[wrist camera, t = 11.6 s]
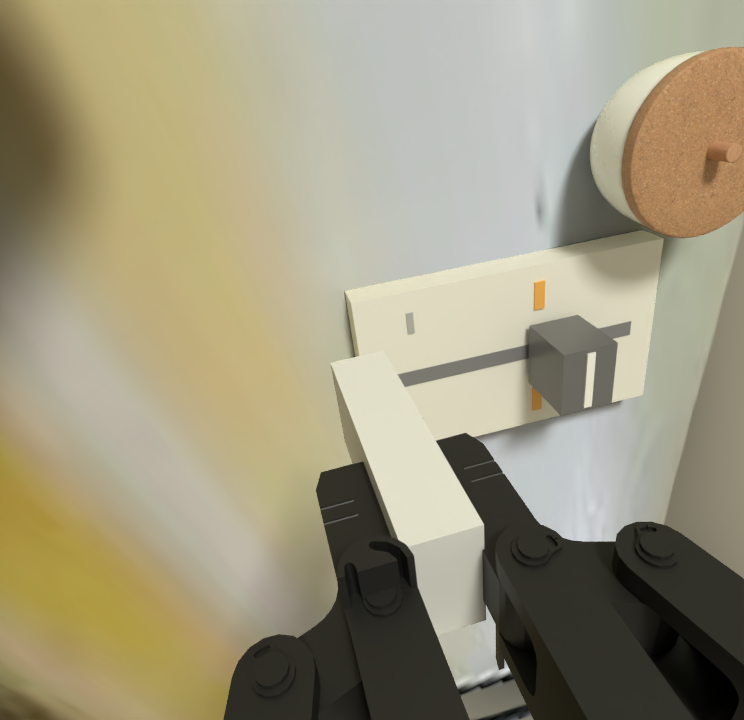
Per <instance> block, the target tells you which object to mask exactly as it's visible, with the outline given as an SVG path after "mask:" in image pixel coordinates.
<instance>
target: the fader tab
mask: <svg viewBox="0 0 744 720" xmlns="http://www.w3.org/2000/svg"><path fill="white" fill-rule="evenodd" d="M617 347H618V342H616V341H615V340H613V339H612V338H610V337H609V336H608V335H606V334H605V333H603V332H602V331H601V330H599V329H598V328H596V327H595V326H593V325H592V324H591V323H589V322H588V321H586V320H585V319H583V318H582V317H581V316H579V315H575V316H570V317H566V318H561V319H557V320H552V321H548V322H543V323H539V324H534V325H530V326H529V375H528V382H529V383H530V384H531V385H532V386H533V387H534V388H535V389H536V390H537V391H538V393H539V394H540V395H541V396H542V397H543V398H544V399H545V400H546V401H547V402H548V403H549V404H550V405H551V406H552V407H553V408H554V409H555V410H556V411H557V412H558V413H559V414H560V415H561V416H563V415H567V414H571V413H575V412H579V411H583V410H587V409H591V408H595V407H599V406H603V405H607V404H611V403H612V395H613V385H614V376H615V366H616V356H617Z"/></svg>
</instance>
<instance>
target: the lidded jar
mask: <svg viewBox="0 0 744 720" xmlns="http://www.w3.org/2000/svg"><path fill="white" fill-rule="evenodd" d="M590 163H591V171H592V174H593V178H594V181H595V183H596V185H597V187H598V189H599V190H600V192H601V194H602V195H603V196H604V198H605V199H606V200H607V201H608V202H609V203H610V204H611V205H612V206H613V207H614V208H615V209H617V210H618V211H619V212H620V213H622V214H623V215H625V216H626V217H628V218H630V219H632V220H633V221H635V222H638V223H640V224H642V225H644V226H646V227H648V228H650V229H652V230H653V231H655V232H658V233H660V234H663V235H667V236H670V237H677V238H689V237H696V236H700V235H704V234H707V233H709V232H711V231H714V230H716V229H718V228H720V227H722V226H723V225H725V224H727V223H729V222H730V221H731V220H733V219H734V218H736V217H737V216H738V215H740V214H741V213H742V212H743V211H744V47H727V48H718V49H713V50H709V51H700V52H692V53H687V54H682V55H678V56H674V57H670V58H667V59H665V60H662V61H660V62H657V63H655V64H652V65H650V66H648V67H646V68H645V69H643V70H641V71H640V72H638V73H637V74H635V75H634V76H632V77H631V78H630V79H629V80H627V81H626V82H625V83H624V84H622V86H621V87H620V88H619V89H618V90H617V91H616V92H615V93H614V94H613V96H612V97H611V98H610V100H609V101H608V102H607V104H606V105H605V106H604V108H603V110H602V112H601V113H600V115H599V117H598V120H597V122H596V125H595V127H594V131H593V134H592V138H591V145H590Z"/></svg>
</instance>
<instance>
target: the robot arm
mask: <svg viewBox="0 0 744 720" xmlns="http://www.w3.org/2000/svg"><path fill="white" fill-rule="evenodd" d="M331 369H332V374H333V379H334V385H335V390H336V395H337V401H338V406H339V412H340V417H341V422H342V428H343V433H344V439H345V443H346V445H347V448H348V451H349V454H350V457H351V460H352V463H353V464H351V465H347V466H344V467H340V468H336V469H332V470H329V471H325V472H321V475H320V478H319V482H318V485H317V488H316V493H317V497H318V501H319V505H320V510H321V514H322V518H323V522H324V527H325V531H326V535H327V539H328V544H329V548H330V552H331V556H332V560H333V564H334V569H335V573H336V577H337V581H338V593H337V598H336V601H335V603H334V605H333V607H332V609H331V611H330V612H329V613H328V615H327V616H326V617H325V618H324V619H323V620H322V621H321V622H320V623H319V624H317V625H316V626H315V627H313V628H312V629H311V630H309V631H308V632H306V633H305V634H303V635H302V636H300V637H299V638H296V637H294V636H289V635H280V634H278V635H275V636H271V637H267V638H264V639H262V640H261V641H259V642H258V643H256V644H254V645H253V646H251V647H250V648H249V649H248V650H247V651H246V653H245V654H244V655H243V656H242V658H241V659H240V660H239V661H238V664H237V666H236V669H235V671H234V674H233V676H232V680H231V685H230V690H229V695H228V700H227V705H226V710H225V715H224V720H470V719H469V717H468V714H467V712H466V709H465V707H464V704H463V702H462V699H461V696H460V694H459V691H458V689H457V686H456V684H455V681H454V678H453V676H452V673H451V671H450V668H449V666H448V663H447V661H446V658H445V655H444V653H443V650H442V648H441V645H440V643H439V640H438V637H437V635H441V634H444V633H447V632H450V631H453V630H456V629H459V628H462V627H465V626H468V625H472V624H475V623H478V622H481V621H484V620H486V605H487V607H488V609H489V611H490V613H491V616H492V618H493V620H494V622H495V624H496V660H497V664H498V668H499V670H500V669H503V668H504V659H505V661H506V663H507V665H508V667H509V669H510V671H511V673H512V675H513V677H514V679H515V682H516V683H517V686H518V688H519V690H520V692H521V694H522V696H523V698H524V700H525V702H526V704H527V707H528V709H529V711H530V713H531V715H532V717H533V719H534V720H744V579H743V578H742V577H741V576H739V575H738V574H736V573H735V572H734V571H732V570H731V569H729V568H728V567H727V566H725V565H724V564H723V563H721V562H720V561H718V560H717V559H716V558H714V557H713V556H711V555H710V554H709V553H707V552H706V551H705V550H703V549H702V548H700V547H699V546H698V545H696V544H695V543H693V542H692V541H691V540H689V539H688V538H687V537H685V536H684V535H682V534H681V533H679V532H677V531H675V530H673V529H672V528H670V527H668V526H665V525H662V524H658V523H654V522H635V523H632V524H629V525H627V526H624V527H623V528H622V530H621V531H620V532H619V533H618V534H617V537H616V542H582V541H572V540H568V539H564V538H562V537H561V536H560V535H559V534H558V533H557V532H556V531H554V530H552V529H550V528H548V527H546V526H543V525H540V524H539V523H538V521H537V520H536V519H535V518H534V516H533V515H532V513H531V512H530V511H529V509H528V508H527V506H526V505H525V503H524V502H523V500H522V499H521V498H520V496H519V495H518V493H517V492H516V490H515V489H514V487H513V486H512V485H511V483H510V482H509V480H508V479H507V477H506V476H505V474H503V473H502V470H501V469H500V467H499V466H498V464H497V463H496V462H494V459H493V457H492V456H491V454H490V453H489V451H488V450H487V448H486V447H485V446H484V444H483V443H481V442H480V441H478V440H477V439H475V438H473V437H472V436H470V435H469V434H467V433H463V434H459V435H455V436H451V437H448V438H444V439H440V440H435V439H434V437H433V435H432V434H431V432H430V430H429V428H428V427H427V425H426V423H425V421H424V420H423V418H422V416H421V414H420V413H419V411H418V409H417V407H416V406H415V404H414V402H413V401H412V399H411V397H410V395H409V394H408V392H407V390H406V388H405V387H404V385H403V383H402V381H401V380H400V378H399V376H398V375H397V373H396V371H395V369H394V368H393V366H392V364H391V362H390V361H389V359H388V357H387V355H386V354H385V352H384V350H383V351H379V352H374V353H370V354H366V355H362V356H357V357H353V358H349V359H344V360H340V361H336V362H332V363H331Z"/></svg>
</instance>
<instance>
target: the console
mask: <svg viewBox="0 0 744 720" xmlns="http://www.w3.org/2000/svg"><path fill="white" fill-rule="evenodd" d="M663 241H664V238H662V237H659V236H656V235H654V234H651V233H649V232H646V231H643V230H640V231H635V232H630V233H625V234H620V235H615V236H611V237H606V238H601V239H596V240H591V241H586V242H581V243H576V244H571V245H567V246H562V247H557V248H552V249H547V250H542V251H537V252H532V253H527V254H523V255H518V256H513V257H508V258H503V259H498V260H493V261H488V262H483V263H478V264H474V265H469V266H464V267H459V268H454V269H449V270H444V271H439V272H434V273H430V274H425V275H420V276H415V277H410V278H405V279H400V280H395V281H390V282H386V283H381V284H376V285H371V286H366V287H361V288H356V289H351V290H346V291H345V296H346V303H347V309H348V315H349V321H350V327H351V333H352V340H353V346H354V352H355V357H357V356H362V355H366V354H370V353H374V352H379V351H383V350H384V352H385V354H386V355H387V357H388V359H389V361H390V362H391V364H392V366H393V368H394V369H395V371H396V373H397V375H398V376H399V378H400V380H401V381H402V383H403V385H404V387H405V388H406V390H407V392H408V394H409V395H410V397H411V399H412V401H413V402H414V404H415V406H416V407H417V409H418V411H419V413H420V414H421V416H422V418H423V420H424V421H425V423H426V425H427V427H428V428H429V430H430V432H431V434H432V435H433V437H434V439H435V440H440V439H444V438H448V437H451V436H455V435H459V434H463V433H467V434H469V435H470V436H472V437H476V436H480V435H484V434H488V433H492V432H496V431H500V430H504V429H508V428H512V427H516V426H520V425H524V424H528V423H532V422H536V421H540V420H544V419H548V418H552V417H556V416H560V414H559V413H558V412H557V411H556V410H555V409H554V408H553V407H552V406H551V405H550V404H549V403H548V402H547V401H546V400H545V399H544V398H543V397H542V396H541V395H540V394H539V393H538V391H537V390H536V389H535V388H534V387H533V386H532V385H531V384H530V383H529V382H528V375H529V326H530V325H534V324H539V323H543V322H548V321H552V320H557V319H561V318H566V317H570V316H575V315H579V316H581V317H582V318H583V319H585V320H586V321H588V322H589V323H591V324H592V325H593V326H595V327H596V328H598V329H599V330H601V331H602V332H603V333H605V334H606V335H608V336H609V337H610V338H612V339H613V340H615V341H616V342H618V347H617V356H616V366H615V376H614V385H613V395H612V402H616V401H620V400H624V399H628V398H632V397H636V396H640V395H643V389H644V381H645V374H646V366H647V359H648V352H649V344H650V337H651V329H652V322H653V315H654V307H655V300H656V293H657V285H658V278H659V270H660V263H661V256H662V248H663Z"/></svg>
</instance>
